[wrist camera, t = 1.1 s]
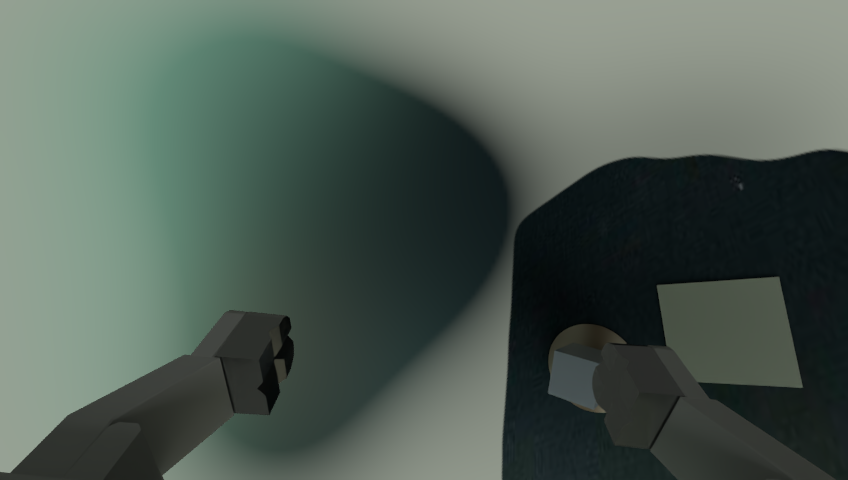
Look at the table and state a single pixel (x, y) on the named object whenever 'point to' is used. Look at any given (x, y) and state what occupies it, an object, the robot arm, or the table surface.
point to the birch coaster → (584, 343)
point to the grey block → (575, 374)
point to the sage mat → (731, 331)
